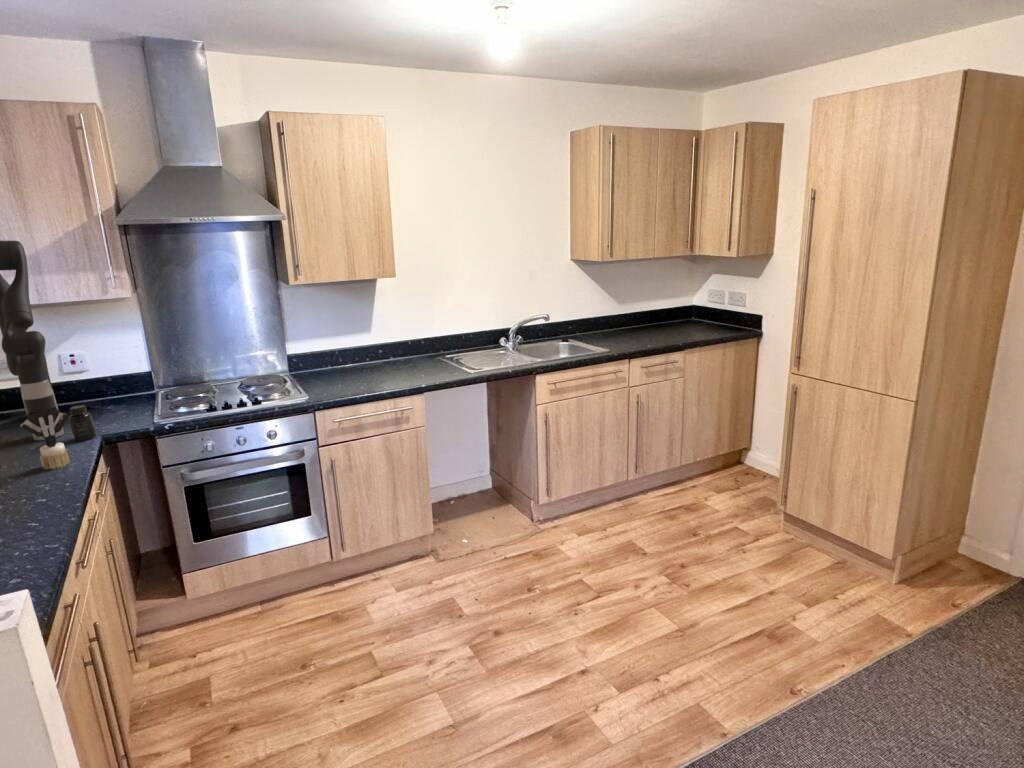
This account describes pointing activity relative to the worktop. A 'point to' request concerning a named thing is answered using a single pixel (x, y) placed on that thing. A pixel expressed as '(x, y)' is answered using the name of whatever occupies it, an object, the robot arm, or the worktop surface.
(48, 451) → the cap
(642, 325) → the worktop surface
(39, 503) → the worktop surface
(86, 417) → the supplement bottle
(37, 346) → the robot arm
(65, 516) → the worktop surface
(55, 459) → the wooden slatted bowl
